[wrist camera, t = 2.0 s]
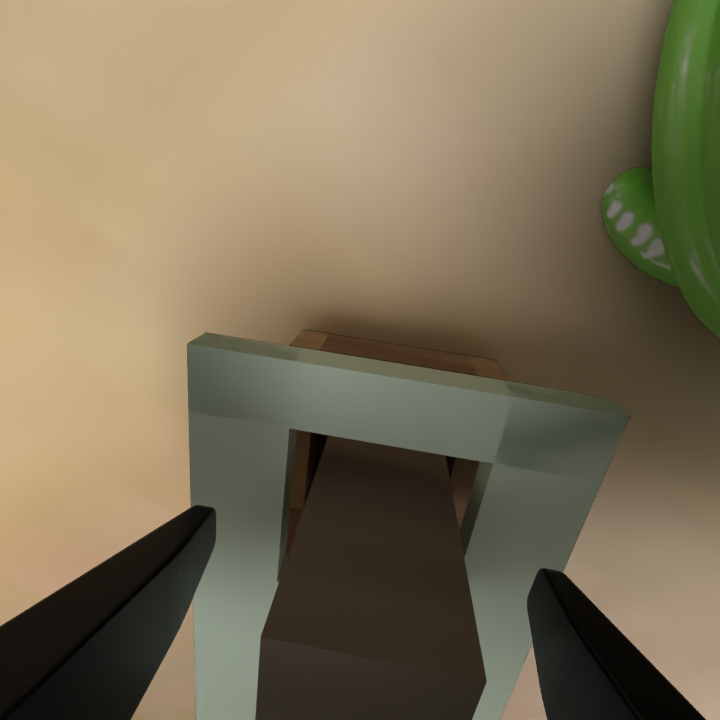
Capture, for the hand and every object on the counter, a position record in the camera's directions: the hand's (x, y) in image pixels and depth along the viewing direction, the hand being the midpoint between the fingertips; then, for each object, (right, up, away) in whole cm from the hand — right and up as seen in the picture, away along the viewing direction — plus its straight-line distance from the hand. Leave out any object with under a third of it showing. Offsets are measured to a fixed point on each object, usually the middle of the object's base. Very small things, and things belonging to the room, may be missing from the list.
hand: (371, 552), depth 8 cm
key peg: (+1, +2, +5) cm, 5 cm away
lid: (-1, -5, +4) cm, 6 cm away
